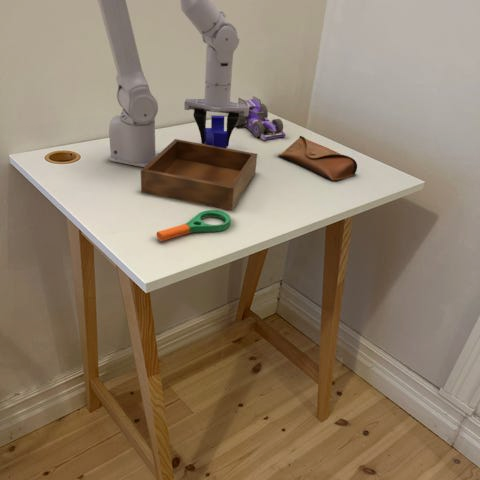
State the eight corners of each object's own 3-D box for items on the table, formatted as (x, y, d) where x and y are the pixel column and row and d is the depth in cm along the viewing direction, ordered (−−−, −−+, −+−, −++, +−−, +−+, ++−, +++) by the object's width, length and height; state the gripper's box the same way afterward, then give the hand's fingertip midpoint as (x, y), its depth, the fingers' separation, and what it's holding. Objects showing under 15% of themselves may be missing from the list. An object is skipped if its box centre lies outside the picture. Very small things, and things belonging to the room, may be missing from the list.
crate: (141, 192, 104) (140, 170, 101) (175, 158, 118) (175, 138, 115) (232, 210, 101) (233, 188, 98) (255, 173, 115) (257, 153, 112)
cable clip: (204, 140, 127) (205, 115, 123) (223, 140, 128) (224, 115, 124) (206, 159, 118) (207, 132, 114) (226, 159, 118) (227, 133, 115)
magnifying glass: (216, 212, 100) (217, 204, 98) (236, 225, 96) (237, 217, 95) (149, 234, 91) (149, 225, 90) (169, 249, 88) (169, 240, 87)
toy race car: (259, 142, 131) (262, 116, 127) (228, 123, 140) (230, 98, 136) (289, 137, 135) (293, 111, 131) (257, 119, 144) (259, 94, 140)
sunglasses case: (275, 154, 124) (288, 127, 122) (289, 163, 129) (302, 138, 128) (334, 181, 114) (349, 153, 113) (347, 189, 120) (361, 162, 118)
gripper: (182, 83, 110) (181, 146, 119) (249, 91, 110) (244, 153, 119) (187, 75, 116) (186, 135, 124) (251, 82, 116) (246, 142, 124)
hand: (215, 143), depth 122 cm, fingers closed on cable clip, 5 cm apart
